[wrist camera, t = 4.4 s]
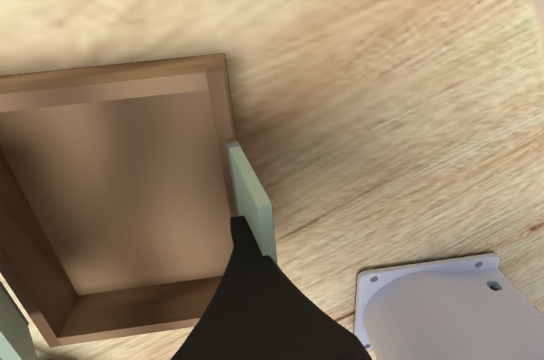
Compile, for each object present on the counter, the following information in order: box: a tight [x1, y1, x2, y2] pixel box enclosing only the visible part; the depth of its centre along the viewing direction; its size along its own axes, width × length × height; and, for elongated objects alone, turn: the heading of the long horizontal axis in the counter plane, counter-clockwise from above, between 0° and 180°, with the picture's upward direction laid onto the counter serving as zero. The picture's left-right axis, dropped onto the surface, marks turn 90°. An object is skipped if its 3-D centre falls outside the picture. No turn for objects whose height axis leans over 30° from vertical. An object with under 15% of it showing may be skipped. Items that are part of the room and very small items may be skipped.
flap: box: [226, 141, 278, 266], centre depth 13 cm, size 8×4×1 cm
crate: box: [0, 53, 237, 347], centre depth 16 cm, size 11×13×3 cm
